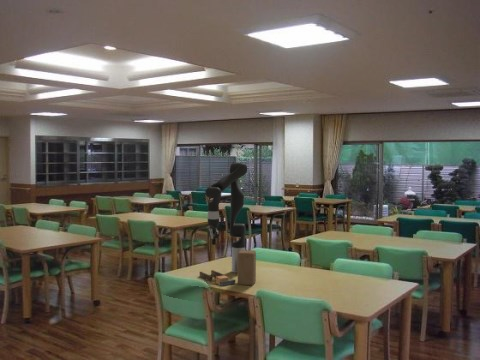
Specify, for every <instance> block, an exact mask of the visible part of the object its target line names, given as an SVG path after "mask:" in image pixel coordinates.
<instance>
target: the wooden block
mask: <svg viewBox="0 0 480 360" xmlns="http://www.w3.org/2000/svg"><path fill="white" fill-rule="evenodd" d="M256 255H257V252H256V250H246V249H245V250H241V251H240V252H239V253H238V273H237V284H238V285H241V286H254V284H255V283H256V281H257V276H256V275H257V271H256V270H257V268H256V266H257V259H256V258H257V256H256Z"/></svg>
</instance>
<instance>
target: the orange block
mask: <svg viewBox="0 0 480 360" xmlns="http://www.w3.org/2000/svg"><path fill="white" fill-rule="evenodd" d="M227 280H230V278H229V276H227V275H225V274H224V275H223V276H215V283H216V284H218V285H220V281H227Z"/></svg>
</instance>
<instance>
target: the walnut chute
mask: <svg viewBox="0 0 480 360" xmlns="http://www.w3.org/2000/svg"><path fill="white" fill-rule="evenodd" d="M210 272H211V273H210V274H207V273H206V272H204V271H199V277H201V278H203V279H205V280H206V281H209V282H213V277H216V276H223V275H225V274H223V273H222V272H218V271H216V270H213V269H211V271H210Z"/></svg>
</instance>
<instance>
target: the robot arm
mask: <svg viewBox="0 0 480 360" xmlns="http://www.w3.org/2000/svg"><path fill="white" fill-rule="evenodd" d="M247 172H248V165H247V164H246V163H244V162H234V163H233V162H232V163H231V164H230V167H229V174H226V175H225V176H222V177H221V178H220V179H219V180H218V181H216V183H213V184H211V185H209V186H208V187H207V188H206V189H205V190H204V191H205V193H204V194H205V196H206V197H207V198H209V199H212V200H211V201H209V202H208V203H207V226H208V227H209V228H207V233H208V236H209V238H210V239H211V245H213V246H215V245H216V244H217V243H216V240H217V239H218V237H219V235H220V233H221V232H220V230H218V229H219V228H218V226H220V202H221V197H222V192H223V191H225V190H226V189H227V188H228V187H229V186H230V222H229V235H230V237H231V238H240V239H238V240H236V241H233V242H232V243H231V273H235V274H238V253H239V252H240V251H241V250H246V231H247V230H246V229H247V228H246V227H247V226H246V224H245V223H236V219H237V217H238V216H239V214H240V212H241V210H242V209H243V207H244V205H245V195H244V191H243V190H242V188H241V185H240V183H239V179H240V178H243V177H244V176H246V174H247Z"/></svg>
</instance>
